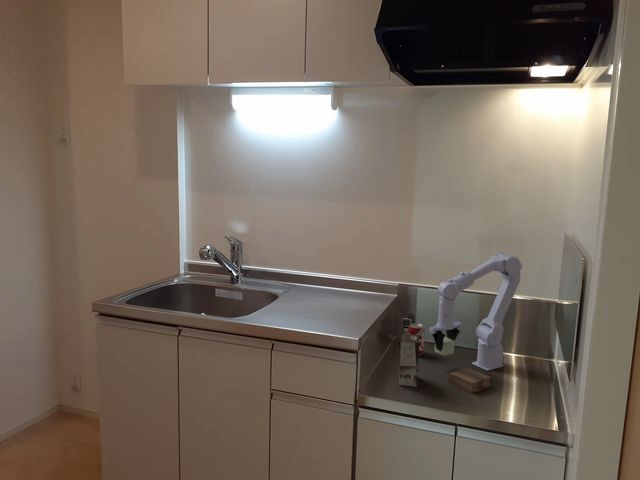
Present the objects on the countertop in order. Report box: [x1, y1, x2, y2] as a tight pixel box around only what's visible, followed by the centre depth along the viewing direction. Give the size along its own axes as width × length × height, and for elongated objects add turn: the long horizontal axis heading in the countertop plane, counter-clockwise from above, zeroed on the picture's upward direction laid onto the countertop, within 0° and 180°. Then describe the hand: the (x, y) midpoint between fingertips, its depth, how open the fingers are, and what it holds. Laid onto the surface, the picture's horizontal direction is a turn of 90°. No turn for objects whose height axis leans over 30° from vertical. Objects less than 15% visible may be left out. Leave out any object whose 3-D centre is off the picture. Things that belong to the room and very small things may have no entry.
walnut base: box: [448, 366, 492, 394], centre depth 186 cm, size 10×10×4 cm
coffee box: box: [398, 333, 420, 388], centre depth 188 cm, size 9×6×16 cm
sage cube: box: [434, 336, 456, 357], centre depth 199 cm, size 5×5×5 cm
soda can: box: [407, 322, 426, 356], centre depth 214 cm, size 7×7×12 cm
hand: (444, 348), depth 199 cm, fingers closed on sage cube, 5 cm apart
